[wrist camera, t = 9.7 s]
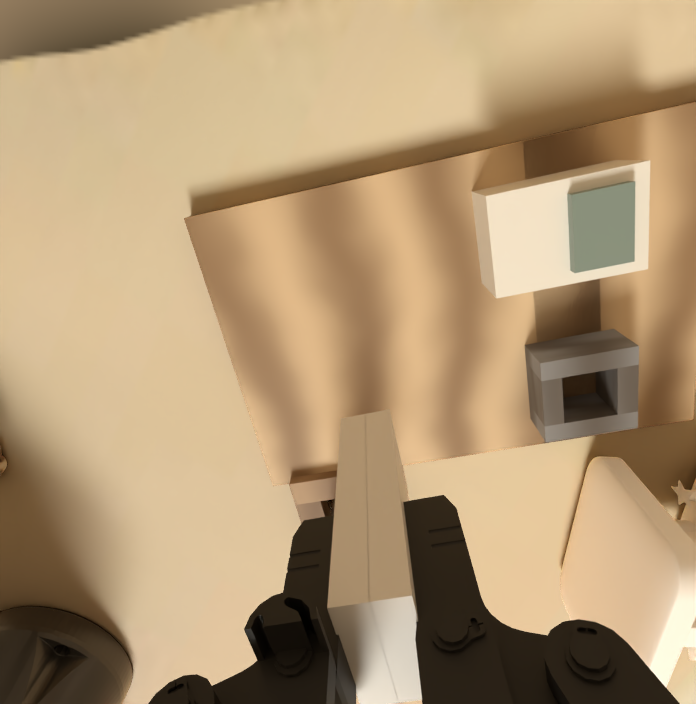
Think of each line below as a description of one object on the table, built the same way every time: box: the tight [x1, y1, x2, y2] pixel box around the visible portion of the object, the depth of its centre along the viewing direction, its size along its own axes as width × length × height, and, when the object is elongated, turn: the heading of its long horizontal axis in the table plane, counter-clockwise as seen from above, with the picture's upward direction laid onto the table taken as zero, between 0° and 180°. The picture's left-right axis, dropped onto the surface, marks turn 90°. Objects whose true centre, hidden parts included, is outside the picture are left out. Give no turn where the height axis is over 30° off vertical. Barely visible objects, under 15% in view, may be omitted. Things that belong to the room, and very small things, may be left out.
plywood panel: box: [184, 101, 696, 486], centre depth 30 cm, size 30×20×4 cm, turn 102°
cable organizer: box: [560, 456, 696, 687], centre depth 32 cm, size 15×11×12 cm
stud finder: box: [472, 160, 650, 299], centre depth 26 cm, size 8×6×4 cm
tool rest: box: [289, 470, 337, 523], centre depth 37 cm, size 7×7×2 cm
